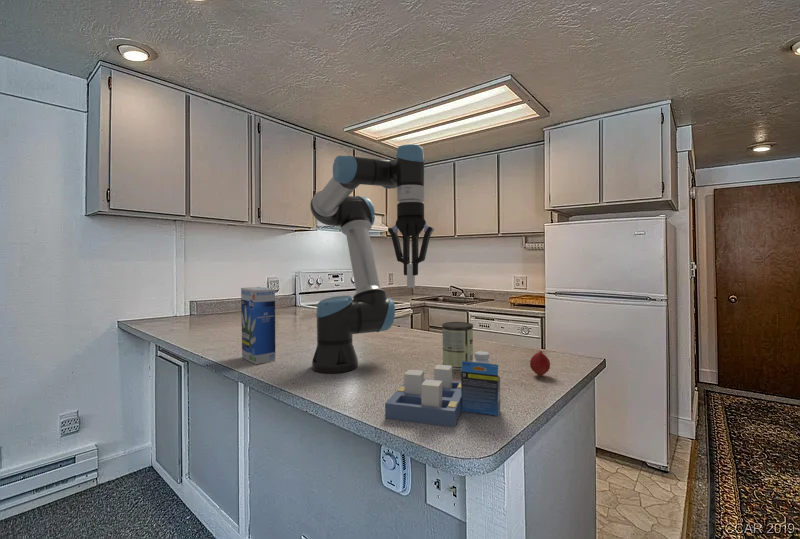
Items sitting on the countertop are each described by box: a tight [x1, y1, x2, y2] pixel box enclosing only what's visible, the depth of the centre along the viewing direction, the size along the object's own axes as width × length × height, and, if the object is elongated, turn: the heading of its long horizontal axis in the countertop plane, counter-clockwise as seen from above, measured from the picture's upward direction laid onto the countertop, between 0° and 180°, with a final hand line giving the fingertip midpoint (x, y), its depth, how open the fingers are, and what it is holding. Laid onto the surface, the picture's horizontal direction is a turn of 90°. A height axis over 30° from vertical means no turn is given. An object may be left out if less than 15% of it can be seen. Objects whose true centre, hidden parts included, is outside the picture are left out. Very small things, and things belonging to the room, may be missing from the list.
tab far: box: [433, 364, 453, 388], centre depth 103 cm, size 4×4×6 cm
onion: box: [529, 350, 551, 377], centre depth 121 cm, size 6×6×8 cm
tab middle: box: [403, 369, 425, 395], centre depth 98 cm, size 4×4×6 cm
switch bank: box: [384, 378, 462, 428], centre depth 97 cm, size 16×20×4 cm
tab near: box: [421, 378, 442, 408], centre depth 90 cm, size 4×4×6 cm
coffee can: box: [441, 321, 474, 371], centre depth 132 cm, size 10×10×14 cm
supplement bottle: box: [473, 350, 493, 371], centre depth 111 cm, size 5×5×10 cm
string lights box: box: [240, 286, 276, 365], centre depth 142 cm, size 13×8×26 cm, turn 43°
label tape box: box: [460, 361, 501, 417], centre depth 94 cm, size 9×4×12 cm, turn 68°
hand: (411, 287), depth 110 cm, fingers closed
